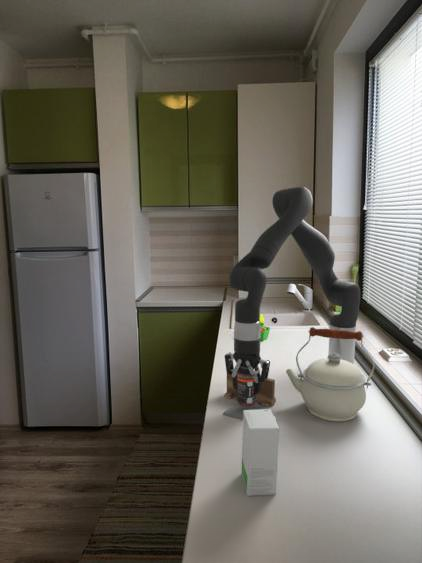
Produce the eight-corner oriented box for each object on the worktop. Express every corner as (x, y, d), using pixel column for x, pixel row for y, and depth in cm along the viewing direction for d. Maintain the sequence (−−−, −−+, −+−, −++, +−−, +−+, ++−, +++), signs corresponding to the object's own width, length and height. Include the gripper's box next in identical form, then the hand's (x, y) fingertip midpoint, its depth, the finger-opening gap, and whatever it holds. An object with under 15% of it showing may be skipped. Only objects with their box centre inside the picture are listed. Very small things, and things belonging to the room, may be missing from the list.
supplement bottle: (255, 408, 121) (256, 370, 119) (235, 406, 123) (235, 368, 121) (257, 399, 127) (258, 362, 125) (237, 397, 128) (238, 361, 126)
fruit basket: (241, 338, 196) (241, 315, 194) (250, 334, 204) (250, 311, 202) (264, 342, 190) (264, 318, 188) (272, 337, 198) (272, 314, 196)
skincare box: (241, 473, 96) (241, 408, 94) (269, 471, 97) (271, 407, 94) (247, 497, 88) (248, 428, 85) (278, 495, 89) (280, 426, 86)
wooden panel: (232, 390, 140) (232, 367, 139) (277, 401, 132) (277, 377, 130) (223, 396, 135) (223, 373, 134) (269, 409, 127) (269, 384, 125)
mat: (239, 401, 132) (239, 399, 132) (269, 409, 127) (269, 407, 127) (223, 414, 124) (223, 412, 124) (253, 423, 118) (253, 421, 118)
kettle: (370, 402, 131) (375, 324, 127) (372, 431, 114) (377, 342, 110) (289, 391, 139) (291, 317, 135) (279, 417, 122) (281, 333, 118)
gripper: (275, 336, 121) (274, 392, 124) (231, 328, 128) (231, 381, 131) (264, 343, 114) (263, 401, 117) (218, 335, 122) (218, 390, 125)
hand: (246, 390), depth 124 cm, fingers closed on supplement bottle, 6 cm apart
